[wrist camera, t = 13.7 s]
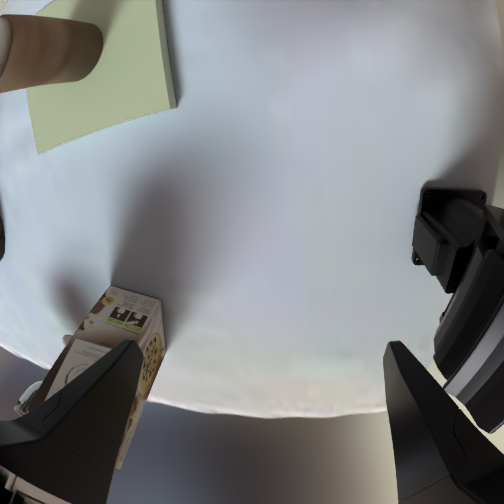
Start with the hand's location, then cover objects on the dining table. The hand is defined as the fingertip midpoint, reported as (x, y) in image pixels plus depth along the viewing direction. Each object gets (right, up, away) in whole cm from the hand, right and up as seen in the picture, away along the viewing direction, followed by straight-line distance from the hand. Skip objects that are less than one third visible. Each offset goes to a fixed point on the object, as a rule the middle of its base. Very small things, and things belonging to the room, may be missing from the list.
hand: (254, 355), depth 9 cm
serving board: (-13, +19, +6) cm, 24 cm away
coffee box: (-12, -4, +20) cm, 24 cm away
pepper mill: (-13, +18, +5) cm, 23 cm away
